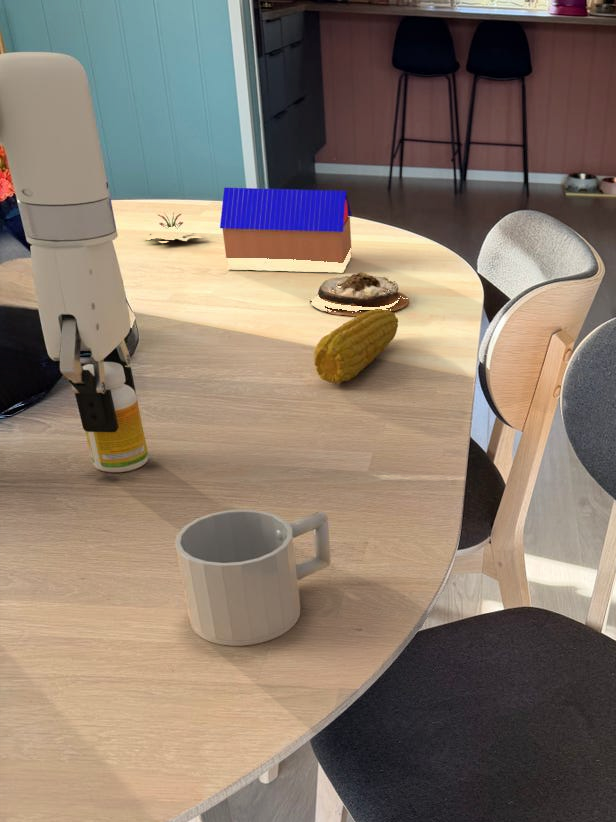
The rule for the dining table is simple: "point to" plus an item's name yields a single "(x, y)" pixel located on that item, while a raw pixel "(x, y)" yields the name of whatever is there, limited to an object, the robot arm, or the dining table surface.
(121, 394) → the supplement bottle
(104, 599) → the dining table surface
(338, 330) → the food
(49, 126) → the robot arm
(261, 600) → the coffee mug
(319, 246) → the house
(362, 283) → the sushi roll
